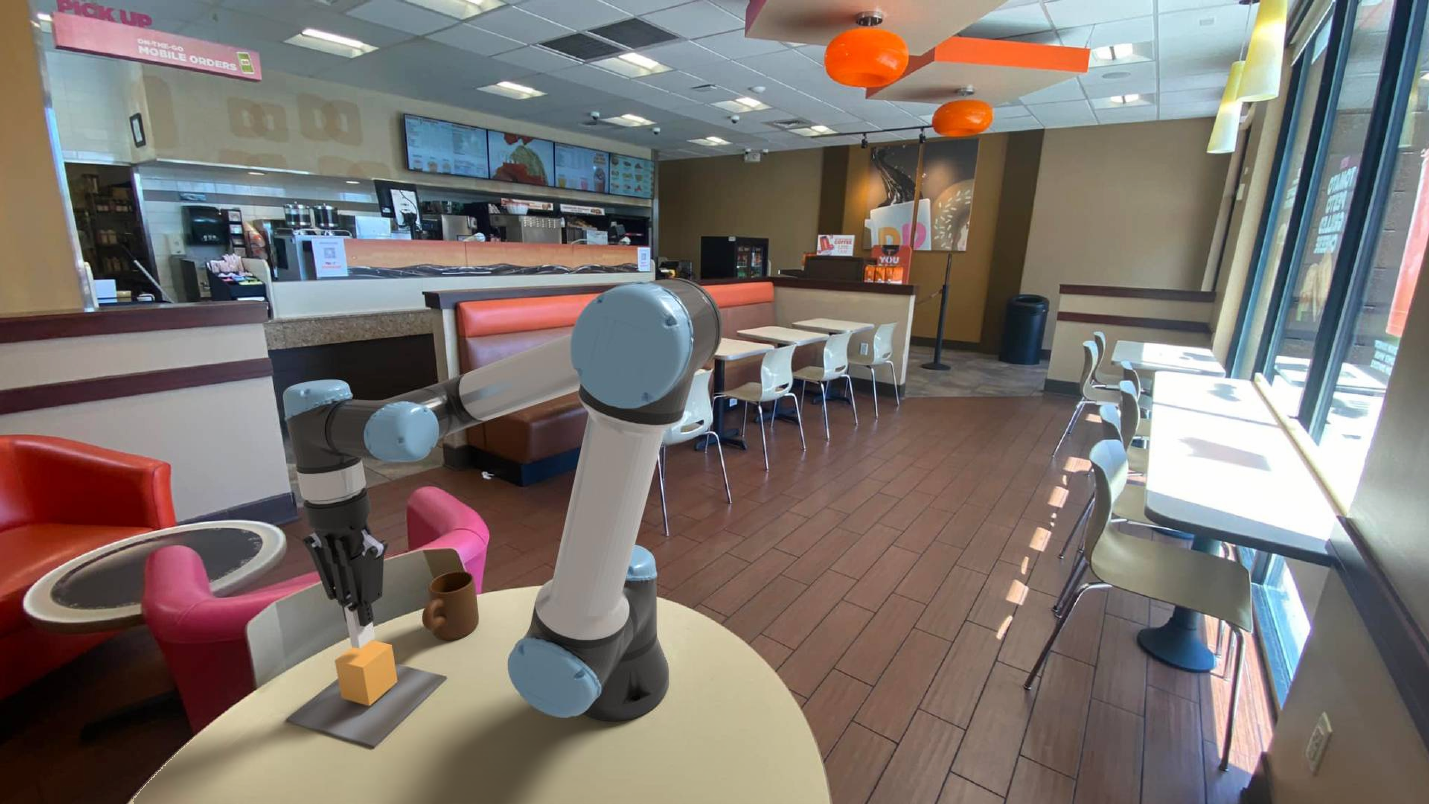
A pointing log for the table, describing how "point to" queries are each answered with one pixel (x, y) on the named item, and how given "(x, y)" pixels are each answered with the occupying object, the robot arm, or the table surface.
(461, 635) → the mug
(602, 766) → the table surface
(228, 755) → the table surface
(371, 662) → the orange foam cube
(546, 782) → the table surface
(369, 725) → the grey rubber mat
